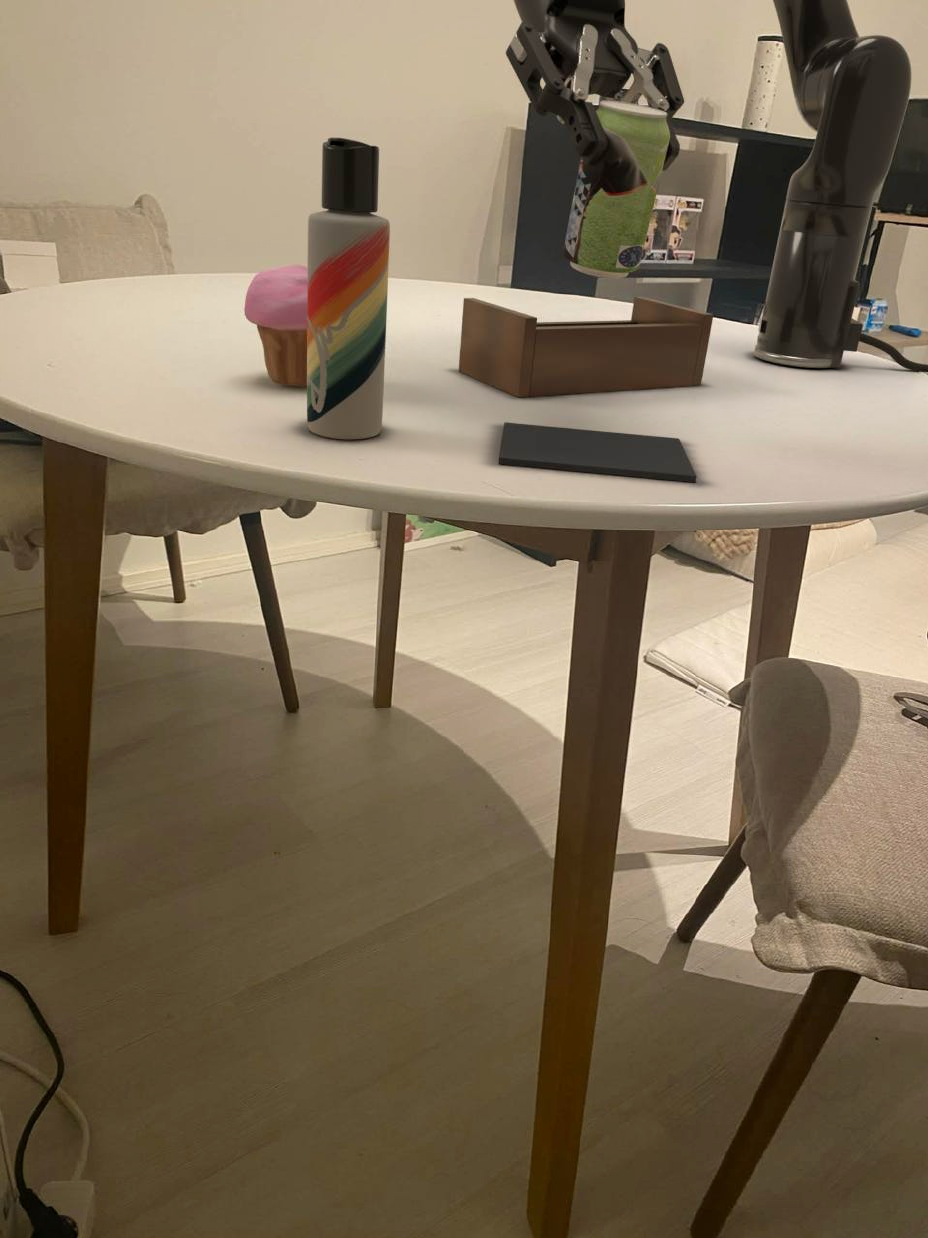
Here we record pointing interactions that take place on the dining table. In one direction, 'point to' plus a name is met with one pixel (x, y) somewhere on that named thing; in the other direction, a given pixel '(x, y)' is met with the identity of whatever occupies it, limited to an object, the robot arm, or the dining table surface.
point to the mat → (595, 452)
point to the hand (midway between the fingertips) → (633, 158)
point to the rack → (584, 349)
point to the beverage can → (617, 192)
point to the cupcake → (281, 321)
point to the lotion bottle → (347, 296)
